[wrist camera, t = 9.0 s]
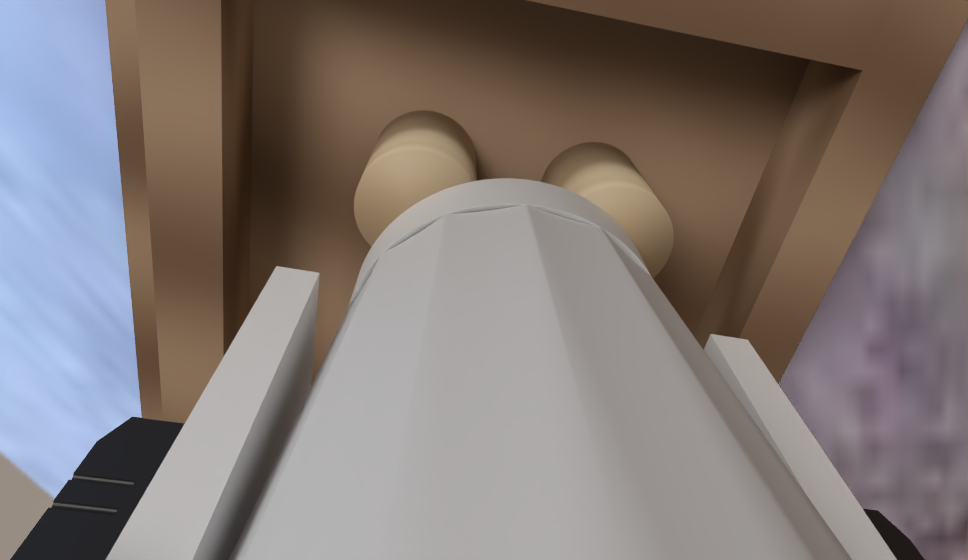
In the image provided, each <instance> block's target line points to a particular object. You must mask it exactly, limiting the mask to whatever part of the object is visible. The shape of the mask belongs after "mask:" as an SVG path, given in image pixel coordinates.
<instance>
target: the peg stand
mask: <svg viewBox="0 0 968 560" xmlns="http://www.w3.org/2000/svg"><path fill="white" fill-rule="evenodd" d="M105 2H106V14H107V25H108V36H109V48H110V59H111V70H112V82H113V93H114V105H115V116H116V127H117V139H118V150H119V161H120V173H121V184H122V196H123V207H124V218H125V230H126V241H127V253H128V264H129V275H130V287H131V298H132V309H133V321H134V332H135V344H136V355H137V366H138V378H139V389H140V401H141V412H142V418H145V419H153V420H161V421H169V422H177V423H185V422H186V421H187V419H188V417H189V416H190V414H191V412H192V410H193V409H194V407H195V405H196V403H197V402H198V400H199V398H200V397H201V395H202V393H203V391H204V390H205V388H206V386H207V385H208V383H209V381H210V379H211V378H212V376H213V374H214V373H215V371H216V369H217V367H218V366H219V364H220V362H221V361H222V359H223V357H224V355H225V354H226V352H227V350H228V348H229V347H230V345H231V343H232V342H233V340H234V338H235V336H236V335H237V333H238V331H239V330H240V328H241V326H242V324H243V323H244V321H245V319H246V318H247V316H248V314H249V312H250V311H251V309H252V307H253V306H254V304H255V302H256V300H257V299H258V297H259V295H260V294H261V292H262V290H263V288H264V287H265V285H266V283H267V281H268V280H269V278H270V276H271V275H272V273H273V271H274V269H275V268H276V266H279V267H286V268H292V269H299V270H305V271H311V272H318V273H320V275H319V288H318V301H317V315H316V328H315V341H314V354H313V367H312V380H311V386H312V384H313V381H314V379H315V377H316V375H317V373H318V371H319V369H320V367H321V365H322V363H323V361H324V358H325V356H326V354H327V352H328V350H329V348H330V346H331V344H332V342H333V340H334V338H335V335H336V333H337V331H338V329H339V327H340V325H341V323H342V321H343V319H344V317H345V314H346V312H347V310H348V306H349V303H350V300H351V297H352V294H353V291H354V288H355V285H356V281H357V278H358V275H359V272H360V269H361V267H362V264H363V262H364V260H365V258H366V256H367V254H368V252H369V251H370V249H371V247H372V246H373V244H374V243H375V241H376V240H377V239H378V237H379V236H380V235H381V233H382V232H383V231H384V230H385V229H386V228H387V227H388V226H389V225H390V224H391V223H392V222H393V221H394V220H395V219H396V218H397V217H398V216H399V215H401V214H402V213H403V212H405V211H406V210H407V209H409V208H410V207H412V206H413V205H415V204H416V203H418V202H419V201H421V200H423V199H425V198H427V197H429V196H431V195H433V194H435V193H437V192H439V191H442V190H444V189H447V188H450V187H453V186H456V185H460V184H464V183H468V182H473V181H478V180H486V179H498V178H514V179H526V180H533V181H539V182H544V183H548V184H552V185H555V186H558V187H561V188H564V189H567V190H569V191H572V192H574V193H576V194H578V195H580V196H582V197H584V198H586V199H588V200H589V201H591V202H593V203H594V204H596V205H597V206H599V207H600V208H601V209H603V210H604V211H605V212H607V213H608V214H609V215H610V216H611V217H612V218H613V219H614V220H615V221H616V222H618V224H619V225H620V226H621V227H622V228H623V229H624V230H625V232H626V233H627V234H628V235H629V237H630V238H631V240H632V241H633V243H634V244H635V246H636V248H637V250H638V251H639V253H640V255H641V257H642V259H643V261H644V263H645V265H646V267H647V269H648V271H649V273H650V275H651V277H652V278H653V279H654V281H655V282H656V284H657V285H658V286H659V288H660V289H661V291H662V292H663V294H664V295H665V296H666V298H667V299H668V301H669V302H670V303H671V305H672V306H673V308H674V309H675V310H676V312H677V313H678V315H679V316H680V317H681V319H682V320H683V322H684V323H685V325H686V326H687V327H688V329H689V330H690V332H691V333H692V334H693V336H694V337H695V339H696V340H697V341H698V343H699V344H700V346H701V347H702V348H703V350H704V348H705V346H706V343H707V341H708V339H709V336H710V334H714V335H721V336H727V337H734V338H740V339H746V340H748V341H749V342H750V344H751V345H752V346H753V348H754V349H755V351H756V352H757V354H758V355H759V357H760V358H761V360H762V361H763V363H764V364H765V366H766V367H767V369H768V370H769V372H770V373H771V375H772V376H773V377H774V379H775V380H776V382H777V383H779V381H780V379H781V377H782V375H783V373H784V371H785V370H786V368H787V366H788V364H789V362H790V360H791V358H792V356H793V354H794V352H795V350H796V348H797V347H798V345H799V343H800V341H801V339H802V337H803V335H804V333H805V331H806V329H807V327H808V325H809V323H810V322H811V320H812V318H813V316H814V314H815V312H816V310H817V308H818V306H819V304H820V302H821V300H822V299H823V297H824V295H825V293H826V291H827V289H828V287H829V285H830V283H831V281H832V279H833V277H834V276H835V274H836V272H837V270H838V268H839V266H840V264H841V262H842V260H843V258H844V256H845V254H846V252H847V251H848V249H849V247H850V245H851V243H852V241H853V239H854V237H855V235H856V233H857V231H858V229H859V228H860V226H861V224H862V222H863V220H864V218H865V216H866V214H867V212H868V210H869V208H870V206H871V204H872V203H873V201H874V199H875V197H876V195H877V193H878V191H879V189H880V187H881V185H882V183H883V181H884V180H885V178H886V176H887V174H888V172H889V170H890V168H891V166H892V164H893V162H894V160H895V158H896V156H897V155H898V153H899V151H900V149H901V147H902V145H903V143H904V141H905V139H906V137H907V135H908V133H909V132H910V130H911V128H912V126H913V124H914V122H915V120H916V118H917V116H918V114H919V112H920V110H921V108H922V107H923V105H924V103H925V101H926V99H927V97H928V95H929V93H930V91H931V89H932V87H933V85H934V84H935V82H936V80H937V78H938V76H939V74H940V72H941V70H942V68H943V66H944V64H945V62H946V60H947V59H948V57H949V55H950V53H951V51H952V49H953V47H954V45H955V43H956V41H957V39H958V37H959V36H960V34H961V32H962V30H963V28H964V26H965V24H966V22H967V20H968V0H105Z"/></svg>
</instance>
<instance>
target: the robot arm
mask: <svg viewBox="0 0 968 560" xmlns="http://www.w3.org/2000/svg"><path fill="white" fill-rule="evenodd" d="M319 275H320V273H318V272H311V271H305V270H299V269H292V268H286V267H279V266H276V268H275V269H274V271H273V273H272V275H271V276H270V278H269V280H268V281H267V283H266V285H265V287H264V288H263V290H262V292H261V294H260V295H259V297H258V299H257V300H256V302H255V304H254V306H253V307H252V309H251V311H250V312H249V314H248V316H247V318H246V319H245V321H244V323H243V324H242V326H241V328H240V330H239V331H238V333H237V335H236V336H235V338H234V340H233V342H232V343H231V345H230V347H229V348H228V350H227V352H226V354H225V355H224V357H223V359H222V361H221V362H220V364H219V366H218V367H217V369H216V371H215V373H214V374H213V376H212V378H211V379H210V381H209V383H208V385H207V386H206V388H205V390H204V391H203V393H202V395H201V397H200V398H199V400H198V402H197V403H196V405H195V407H194V409H193V410H192V412H191V414H190V416H189V417H188V419H187V421H186V422H185V423H177V422H169V421H161V420H153V419H145V418H138V417H131V418H130V419H129V420H127V421H126V422H124V423H123V424H121V425H120V426H119V427H117V428H116V429H114V430H113V431H111V432H110V433H108V434H107V435H106V436H104V437H103V438H101V439H100V440H98V441H97V442H96V444H95V445H94V446H93V448H92V449H91V450H90V452H89V453H88V454H87V456H86V457H85V459H84V460H83V461H82V463H81V464H80V465H79V467H78V468H77V469H76V471H75V472H74V475H73V478H72V480H68V482H67V483H66V484H65V486H64V487H63V488H62V490H61V491H60V493H59V494H58V495H57V497H56V498H55V499H54V503H53V506H52V507H51V508H48V509H47V511H46V512H45V513H44V514H43V516H42V517H41V519H40V520H39V521H38V523H37V524H36V525H35V527H34V528H33V530H32V531H31V532H30V533H29V535H28V536H27V538H26V539H25V540H24V542H23V543H22V544H21V546H20V547H19V548H18V550H17V551H16V553H15V554H14V555H13V557H12V558H11V559H10V560H228V559H229V557H230V555H231V553H232V551H233V549H234V547H235V545H236V543H237V541H238V538H239V536H240V534H241V532H242V530H243V528H244V526H245V524H246V522H247V520H248V517H249V515H250V513H251V511H252V509H253V507H254V505H255V503H256V501H257V499H258V497H259V494H260V492H261V490H262V488H263V486H264V484H265V482H266V480H267V478H268V476H269V474H270V471H271V469H272V467H273V465H274V463H275V461H276V459H277V457H278V455H279V453H280V451H281V448H282V446H283V444H284V442H285V440H286V438H287V436H288V434H289V432H290V430H291V427H292V425H293V423H294V421H295V419H296V417H297V415H298V413H299V411H300V409H301V407H302V404H303V402H304V400H305V398H306V396H307V394H308V392H309V390H310V388H311V380H312V367H313V354H314V341H315V328H316V315H317V301H318V288H319ZM704 351H705V353H706V354H707V356H708V357H709V358H710V360H711V361H712V363H713V364H714V365H715V367H716V368H717V370H718V371H719V372H720V374H721V375H722V377H723V378H724V380H725V381H726V382H727V384H728V385H729V387H730V388H731V389H732V391H733V392H734V394H735V395H736V396H737V398H738V399H739V401H740V402H741V403H742V405H743V406H744V408H745V409H746V411H747V412H748V413H749V415H750V416H751V418H752V419H753V420H754V422H755V423H756V425H757V426H758V427H759V429H760V430H761V432H762V433H763V434H764V436H765V437H766V439H767V440H768V442H769V443H770V444H771V446H772V447H773V449H774V450H775V451H776V453H777V454H778V456H779V457H780V458H781V460H782V461H783V463H784V464H785V465H786V467H787V468H788V470H789V471H790V473H791V474H792V475H793V477H794V478H795V480H796V481H797V482H798V484H799V485H800V487H801V488H802V489H803V491H804V492H805V494H806V495H807V497H808V498H809V499H810V501H811V502H812V504H813V505H814V506H815V508H816V509H817V511H818V512H819V513H820V515H821V516H822V518H823V519H824V520H825V522H826V523H827V525H828V526H829V528H830V529H831V530H832V532H833V533H834V535H835V536H836V537H837V539H838V540H839V542H840V543H841V544H842V546H843V547H844V549H845V550H846V551H847V553H848V554H849V556H850V557H851V559H852V560H924V558H923V557H922V556H921V554H920V553H919V551H918V550H917V549H916V547H915V546H914V545H913V543H912V542H911V540H910V539H908V538H907V537H906V536H905V535H904V534H903V533H902V532H901V531H900V530H899V529H897V528H896V527H895V526H894V525H893V524H892V523H891V522H890V521H889V520H888V519H887V518H885V517H884V516H883V515H882V514H881V513H880V512H879V511H876V510H868V509H862V507H861V506H860V504H859V503H858V501H857V500H856V498H855V497H854V495H853V494H852V493H851V491H850V490H849V488H848V487H847V485H846V484H845V482H844V481H843V479H842V478H841V476H840V475H839V473H838V472H837V470H836V469H835V467H834V466H833V465H832V463H831V462H830V460H829V459H828V457H827V456H826V454H825V453H824V451H823V450H822V448H821V447H820V445H819V444H818V442H817V441H816V439H815V438H814V436H813V435H812V434H811V432H810V431H809V429H808V428H807V426H806V425H805V423H804V422H803V420H802V419H801V417H800V416H799V414H798V413H797V411H796V410H795V408H794V407H793V406H792V404H791V403H790V401H789V400H788V398H787V397H786V395H785V394H784V392H783V391H782V389H781V388H780V386H779V385H778V383H777V382H776V380H775V379H774V377H773V376H772V375H771V373H770V372H769V370H768V369H767V367H766V366H765V364H764V363H763V361H762V360H761V358H760V357H759V355H758V354H757V352H756V351H755V349H754V348H753V346H752V345H751V344H750V342H749V341H748V340H746V339H740V338H734V337H727V336H721V335H714V334H710V336H709V339H708V341H707V343H706V346H705V348H704Z"/></svg>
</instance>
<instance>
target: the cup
mask: <svg viewBox="0 0 968 560" xmlns="http://www.w3.org/2000/svg"><path fill="white" fill-rule="evenodd" d="M228 560H852V559H851V557H850V556H849V554H848V553H847V551H846V550H845V549H844V547H843V546H842V544H841V543H840V542H839V540H838V539H837V537H836V536H835V535H834V533H833V532H832V530H831V529H830V528H829V526H828V525H827V523H826V522H825V520H824V519H823V518H822V516H821V515H820V513H819V512H818V511H817V509H816V508H815V506H814V505H813V504H812V502H811V501H810V499H809V498H808V497H807V495H806V494H805V492H804V491H803V489H802V488H801V487H800V485H799V484H798V482H797V481H796V480H795V478H794V477H793V475H792V474H791V473H790V471H789V470H788V468H787V467H786V465H785V464H784V463H783V461H782V460H781V458H780V457H779V456H778V454H777V453H776V451H775V450H774V449H773V447H772V446H771V444H770V443H769V442H768V440H767V439H766V437H765V436H764V434H763V433H762V432H761V430H760V429H759V427H758V426H757V425H756V423H755V422H754V420H753V419H752V418H751V416H750V415H749V413H748V412H747V411H746V409H745V408H744V406H743V405H742V403H741V402H740V401H739V399H738V398H737V396H736V395H735V394H734V392H733V391H732V389H731V388H730V387H729V385H728V384H727V382H726V381H725V380H724V378H723V377H722V375H721V374H720V372H719V371H718V370H717V368H716V367H715V365H714V364H713V363H712V361H711V360H710V358H709V357H708V356H707V354H706V353H705V351H704V350H703V348H702V347H701V346H700V344H699V343H698V341H697V340H696V339H695V337H694V336H693V334H692V333H691V332H690V330H689V329H688V327H687V326H686V325H685V323H684V322H683V320H682V319H681V317H680V316H679V315H678V313H677V312H676V310H675V309H674V308H673V306H672V305H671V303H670V302H669V301H668V299H667V298H666V296H665V295H664V294H663V292H662V291H661V289H660V288H659V286H658V285H657V284H656V282H655V281H654V279H653V278H652V277H651V275H650V273H649V271H648V269H647V267H646V265H645V263H644V261H643V259H642V257H641V255H640V253H639V251H638V250H637V248H636V246H635V244H634V243H633V241H632V240H631V238H630V237H629V235H628V234H627V233H626V232H625V230H624V229H623V228H622V227H621V226H620V225H619V224H618V222H616V221H615V220H614V219H613V218H612V217H611V216H610V215H609V214H608V213H607V212H605V211H604V210H603V209H601V208H600V207H599V206H597V205H596V204H594V203H593V202H591V201H589V200H588V199H586V198H584V197H582V196H580V195H578V194H576V193H574V192H572V191H569V190H567V189H564V188H561V187H558V186H555V185H552V184H548V183H544V182H539V181H533V180H526V179H514V178H498V179H486V180H478V181H473V182H468V183H464V184H460V185H456V186H453V187H450V188H447V189H444V190H442V191H439V192H437V193H435V194H433V195H431V196H429V197H427V198H425V199H423V200H421V201H419V202H418V203H416V204H415V205H413V206H412V207H410V208H409V209H407V210H406V211H405V212H403V213H402V214H401V215H399V216H398V217H397V218H396V219H395V220H394V221H393V222H392V223H391V224H390V225H389V226H388V227H387V228H386V229H385V230H384V231H383V232H382V233H381V235H380V236H379V237H378V239H377V240H376V241H375V243H374V244H373V246H372V247H371V249H370V251H369V252H368V254H367V256H366V258H365V260H364V262H363V264H362V267H361V269H360V272H359V275H358V278H357V281H356V285H355V288H354V291H353V294H352V297H351V300H350V303H349V306H348V310H347V312H346V314H345V317H344V319H343V321H342V323H341V325H340V327H339V329H338V331H337V333H336V335H335V338H334V340H333V342H332V344H331V346H330V348H329V350H328V352H327V354H326V356H325V358H324V361H323V363H322V365H321V367H320V369H319V371H318V373H317V375H316V377H315V379H314V381H313V384H312V386H311V388H310V390H309V392H308V394H307V396H306V398H305V400H304V402H303V404H302V407H301V409H300V411H299V413H298V415H297V417H296V419H295V421H294V423H293V425H292V427H291V430H290V432H289V434H288V436H287V438H286V440H285V442H284V444H283V446H282V448H281V451H280V453H279V455H278V457H277V459H276V461H275V463H274V465H273V467H272V469H271V471H270V474H269V476H268V478H267V480H266V482H265V484H264V486H263V488H262V490H261V492H260V494H259V497H258V499H257V501H256V503H255V505H254V507H253V509H252V511H251V513H250V515H249V517H248V520H247V522H246V524H245V526H244V528H243V530H242V532H241V534H240V536H239V538H238V541H237V543H236V545H235V547H234V549H233V551H232V553H231V555H230V557H229V559H228Z"/></svg>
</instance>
